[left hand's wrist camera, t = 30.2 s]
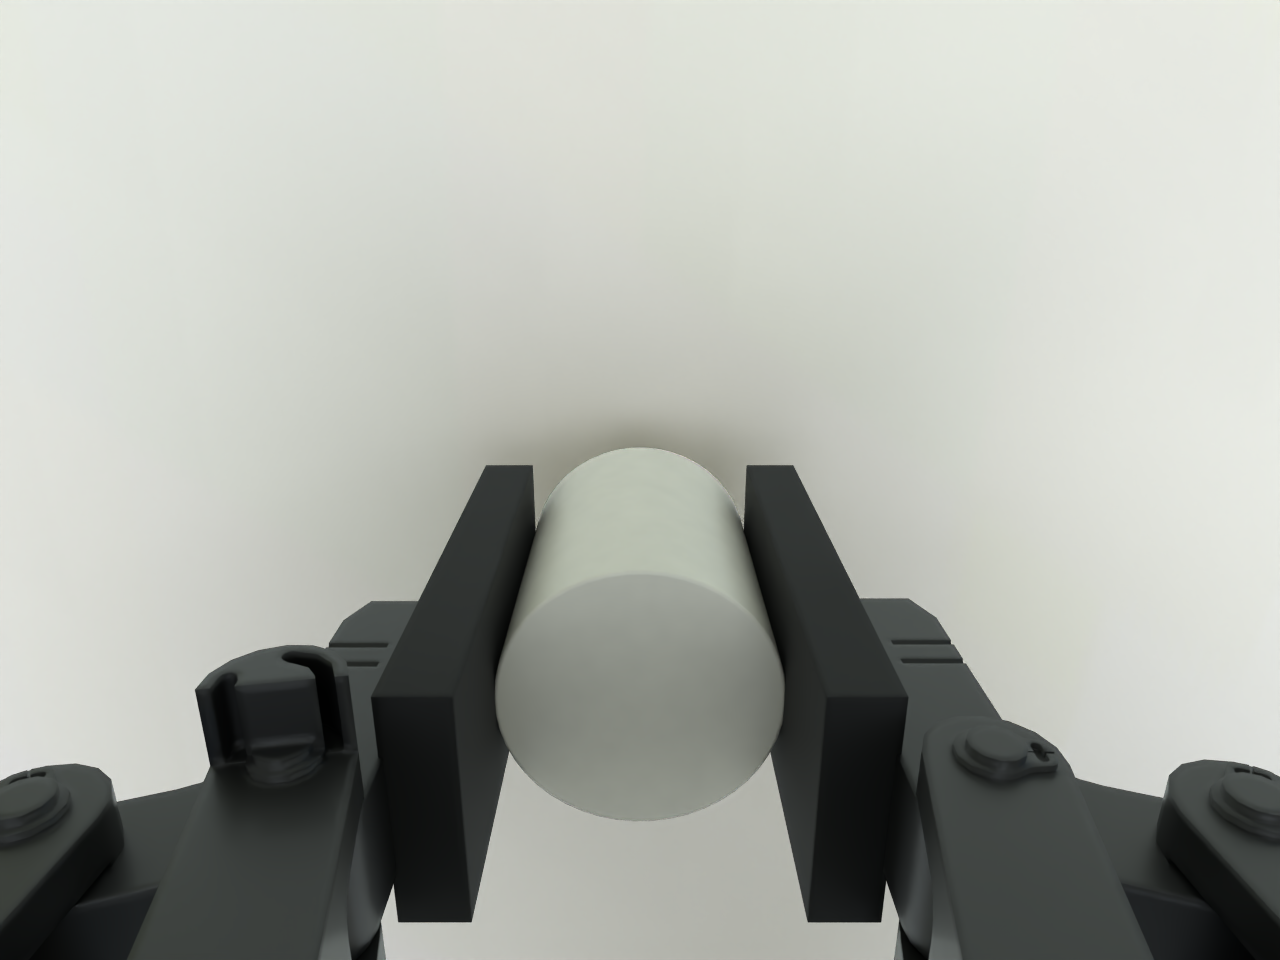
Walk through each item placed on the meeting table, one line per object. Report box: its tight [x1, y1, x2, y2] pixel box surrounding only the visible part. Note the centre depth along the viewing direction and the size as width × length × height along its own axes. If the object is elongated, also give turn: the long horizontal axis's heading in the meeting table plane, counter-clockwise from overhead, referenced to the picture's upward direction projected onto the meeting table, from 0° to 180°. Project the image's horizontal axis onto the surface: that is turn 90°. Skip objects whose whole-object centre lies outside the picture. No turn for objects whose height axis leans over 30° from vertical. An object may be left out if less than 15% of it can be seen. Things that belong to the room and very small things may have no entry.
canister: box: [495, 447, 785, 821], centre depth 13 cm, size 4×4×5 cm
